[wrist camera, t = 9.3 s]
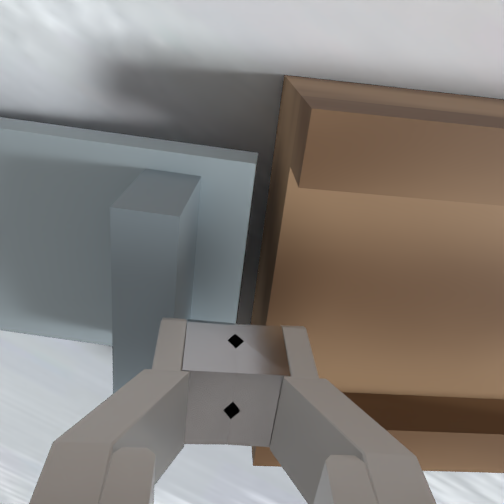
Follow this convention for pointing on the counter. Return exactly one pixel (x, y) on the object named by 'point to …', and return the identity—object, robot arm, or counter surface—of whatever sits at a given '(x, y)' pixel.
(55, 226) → the cover plate
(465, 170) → the slide box
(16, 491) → the counter surface
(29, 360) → the counter surface
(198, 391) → the robot arm
